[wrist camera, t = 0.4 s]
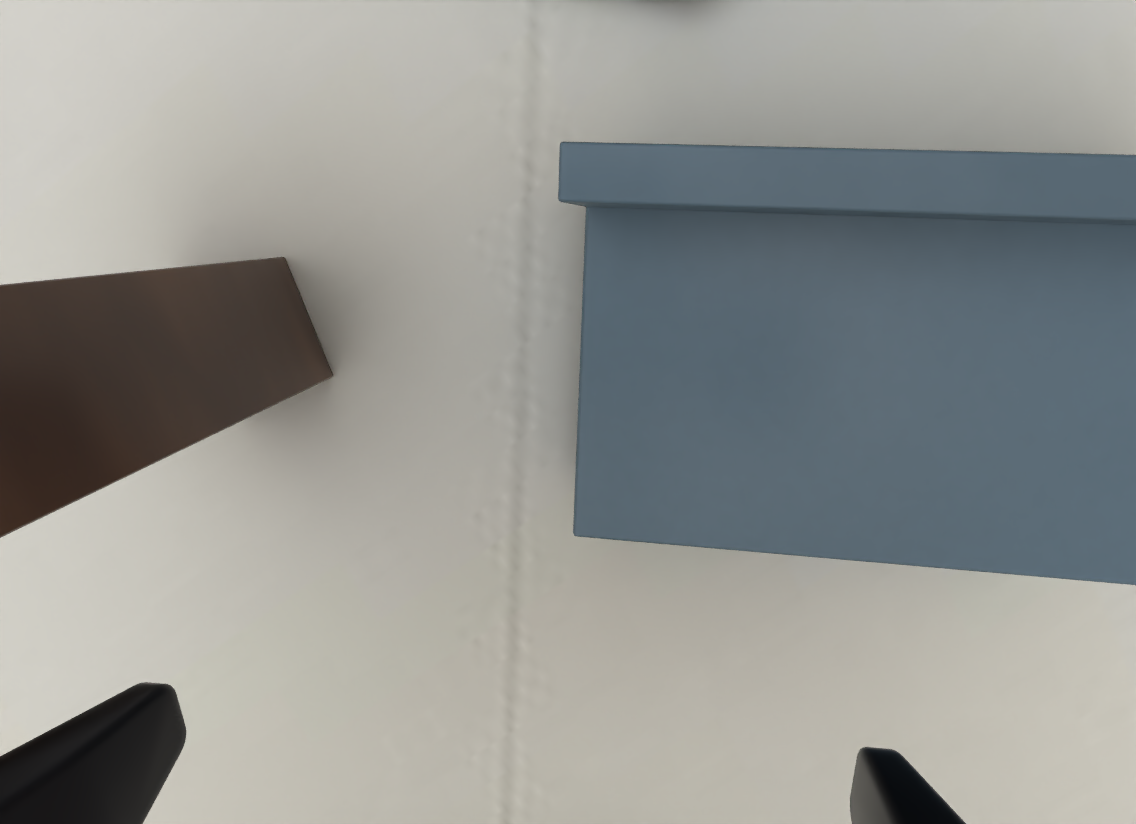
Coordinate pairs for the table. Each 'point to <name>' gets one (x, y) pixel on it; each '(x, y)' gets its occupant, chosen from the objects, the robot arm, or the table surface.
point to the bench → (860, 354)
